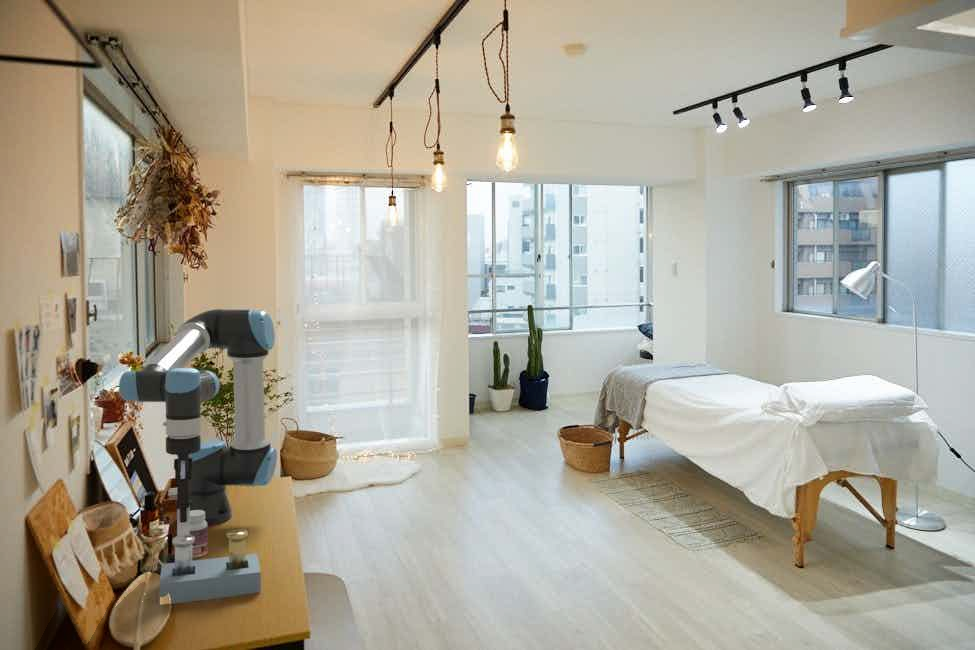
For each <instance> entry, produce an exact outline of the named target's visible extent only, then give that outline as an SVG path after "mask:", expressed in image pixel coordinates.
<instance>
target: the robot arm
mask: <svg viewBox="0 0 975 650" xmlns="http://www.w3.org/2000/svg"><path fill="white" fill-rule="evenodd" d="M176 330H177V331H176V333H175V336H174V337H173V338H172V339H171V340H170V341H169V342H168V343H167V344H166V345H165V346H164V347H163V348H162V349H161V350H160V351H159V352H158V353H157V354H156V355H155V356H154V357H153V358H152V359H151V360H150V361H149V362H147V364H146V365H145V366H143V368H142V369H140V370H135V369H134V370H127V371H124V372H123V373H122V375H121V376H120V379H119V384H118V390H119V395H120V397H121V398H122V399H123V400H124V401H127V402H136V403H165V421H164V422H162V426H163V427H165V435H166V438H165V453H167V454H168V455H171V456H174V455H175V456H177V458H174V462H173V469H174V471H175V472H174V474H175V475H174V477H175V478H174V479H175V481H176V482H177V484H176V487H177V490H176V491H177V493H176V494H177V495H176V499H177V503H176V504H177V505H174V506H173V509H174V510H176V520H177V521H176V528H177V529H176V536H180V535H190V511H192V510H203V511H205V521H206V522H207V526H213V525H217V524H218V525H219V524H222V523H223V522H224V523H225V522H226V521H228V520H230V519H231V518H232V516H233V515H232V514H233V511H232V509H233V508H232V505H231V503H230V500H229V498H228V495H227V490H226V489H227V488H226V487H227V486H232V487H233V486H234V487H235V486H237V487H238V486H240V487H244V486H245V487H253V488H254V487H262V486H263V487H264V486H267V485H268V484H269V483H270V482H271V481H272V479H273V478H274V474H275V470H276V466H277V461H278V452H277V449H276V447H274V446H272V447H271V439H269V438H268V437H267V436H266V429H265V426H266V425H265V424H266V423H265V383H264V382H265V380H264V360H265V359H266V358H267V356H268V355H269V351H270V350H272V349H273V348H274V345H275V328H274V324H273V321H272V317H271V316H270V314H269V313H268V312H266V311H265V310H255V309H221V308H219V309H217V308H215V309H211V310H207V311H204V312H201V313H199V314H197V315H195V316H194V315H193V317H191V318H189V319H188V320H186V321H185V322H184V323H183V324H181V325H180V326H179V328H178V329H176ZM209 349H211V350H212V349H222V350H223V349H225V350H227V351H226V353H227V357H228V358H229V359H230V360H231V361H232V364H233V365H232V366H233V368H232V369H233V370H232V371H233V373H232V374H233V401H234V403H233V404H234V407H233V409H234V433H235V434H234V436H235V437H234V439H233V440H232V441H231V442H230V444H229V446H227V443H226V441H224V440H210V441H203V442H202V441H201V438H202V437H201V435H200V433H201V432H202V424H201V423H202V416H201V404H203V403H205V402H209V401H210V400H211V399H213V398H214V397H215V396H216V395H218V393H219V391H220V387H221V386H220V385H221V383H220V379H219V378H218V376H217V375H216V374H215V373H214V372H212V371H210V370H206V369H205V370H198V369H197V368H189V367H187V366H188V365H189V364H190V362H192V361H193V359H195V357H196V356H197V355H198V354H202V353H203V352H205V351H207V350H209Z"/></svg>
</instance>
